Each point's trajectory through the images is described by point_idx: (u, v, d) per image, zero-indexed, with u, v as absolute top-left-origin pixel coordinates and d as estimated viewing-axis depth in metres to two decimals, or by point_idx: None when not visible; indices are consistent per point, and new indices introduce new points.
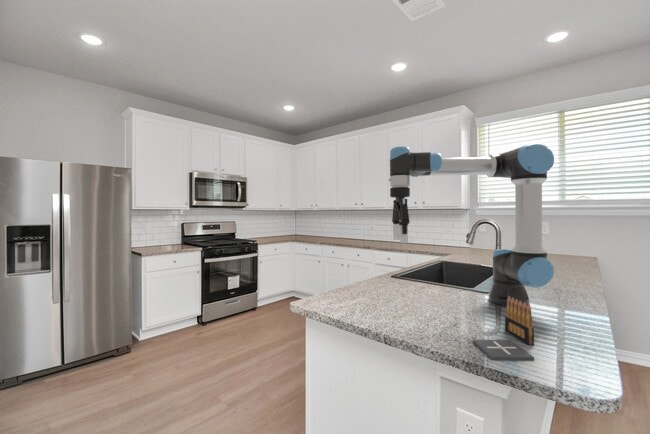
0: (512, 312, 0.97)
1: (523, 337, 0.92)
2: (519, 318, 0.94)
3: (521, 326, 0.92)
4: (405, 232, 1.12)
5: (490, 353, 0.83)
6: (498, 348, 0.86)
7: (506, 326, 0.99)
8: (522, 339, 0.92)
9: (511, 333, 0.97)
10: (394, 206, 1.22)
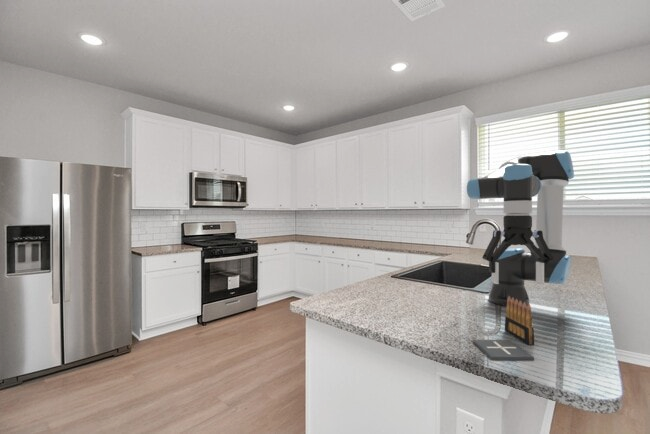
0: (512, 312, 0.97)
1: (523, 337, 0.92)
2: (519, 318, 0.94)
3: (521, 326, 0.92)
4: (490, 270, 0.95)
5: (490, 353, 0.83)
6: (498, 348, 0.86)
7: (506, 326, 0.99)
8: (522, 339, 0.92)
9: (511, 333, 0.97)
10: None
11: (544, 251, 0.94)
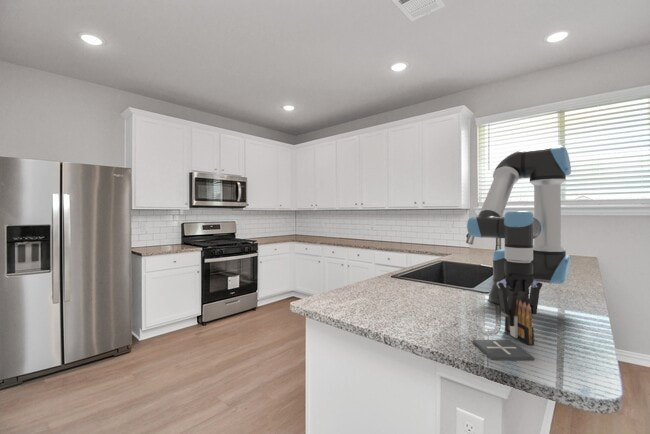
0: None
1: (523, 337, 0.92)
2: (519, 318, 0.94)
3: (521, 326, 0.92)
4: (509, 323, 0.95)
5: (490, 353, 0.83)
6: (498, 348, 0.86)
7: (506, 325, 0.99)
8: (522, 339, 0.92)
9: None
10: None
11: (532, 302, 0.94)
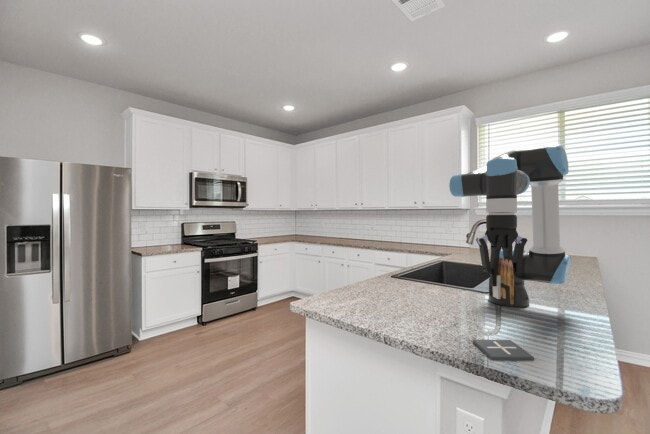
0: None
1: (505, 297, 0.83)
2: (501, 277, 0.85)
3: (503, 285, 0.84)
4: (491, 283, 0.86)
5: (490, 353, 0.83)
6: (498, 348, 0.86)
7: (490, 288, 0.90)
8: (503, 300, 0.83)
9: None
10: None
11: (516, 260, 0.85)
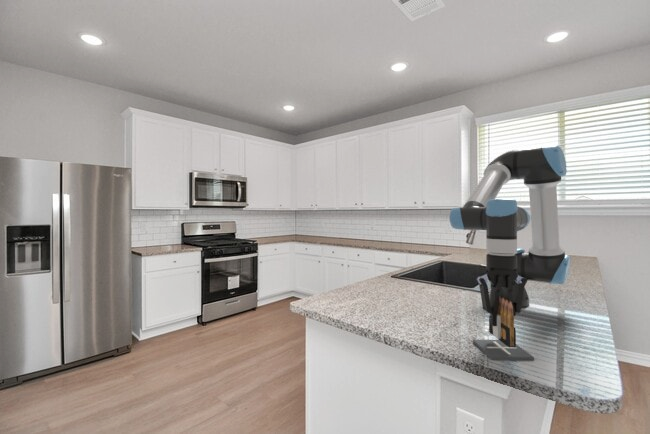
0: None
1: (505, 338, 0.83)
2: (501, 317, 0.85)
3: (503, 326, 0.84)
4: (491, 323, 0.86)
5: (490, 353, 0.83)
6: (498, 348, 0.86)
7: (490, 326, 0.90)
8: (504, 340, 0.83)
9: None
10: None
11: (516, 300, 0.85)
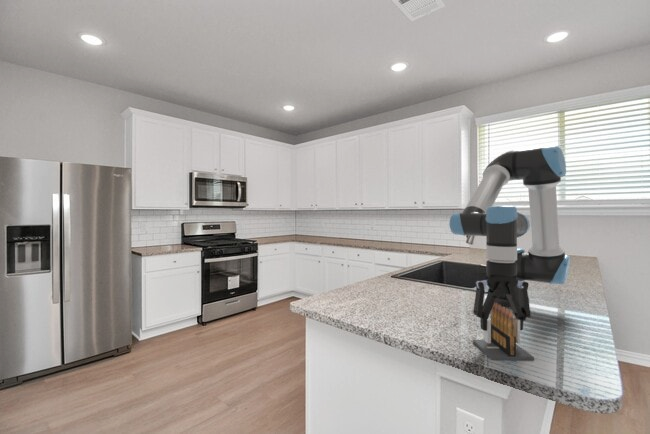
0: (496, 319, 0.88)
1: (505, 347, 0.83)
2: (502, 326, 0.85)
3: (503, 334, 0.84)
4: (482, 327, 0.86)
5: (490, 353, 0.83)
6: (498, 348, 0.86)
7: (491, 333, 0.90)
8: (504, 349, 0.83)
9: (494, 342, 0.88)
10: None
11: (523, 305, 0.85)
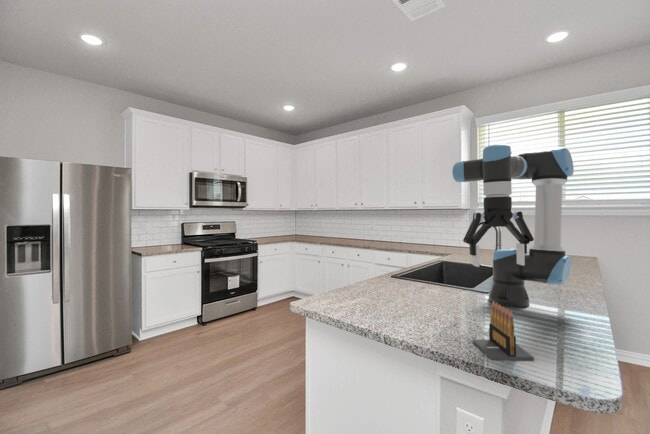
0: (496, 319, 0.88)
1: (505, 347, 0.83)
2: (501, 326, 0.85)
3: (503, 334, 0.84)
4: (471, 253, 0.94)
5: (490, 353, 0.83)
6: (498, 348, 0.86)
7: (490, 333, 0.90)
8: (504, 349, 0.83)
9: (494, 342, 0.88)
10: None
11: (524, 232, 0.93)
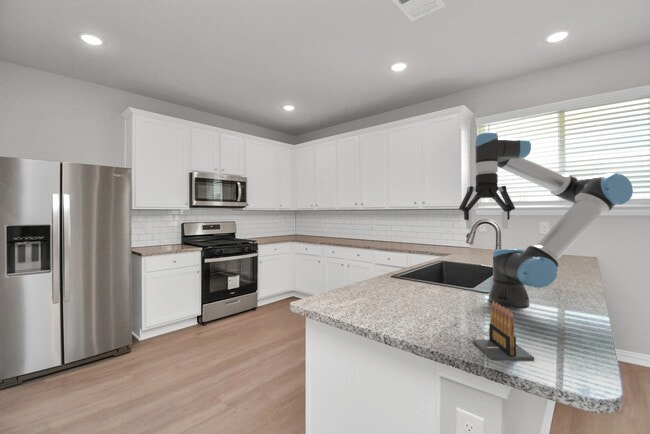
0: (496, 319, 0.88)
1: (505, 347, 0.83)
2: (501, 326, 0.85)
3: (503, 334, 0.84)
4: (465, 218, 1.19)
5: (490, 353, 0.83)
6: (498, 348, 0.86)
7: (490, 333, 0.90)
8: (504, 349, 0.83)
9: (494, 342, 0.88)
10: None
11: (507, 202, 1.18)
